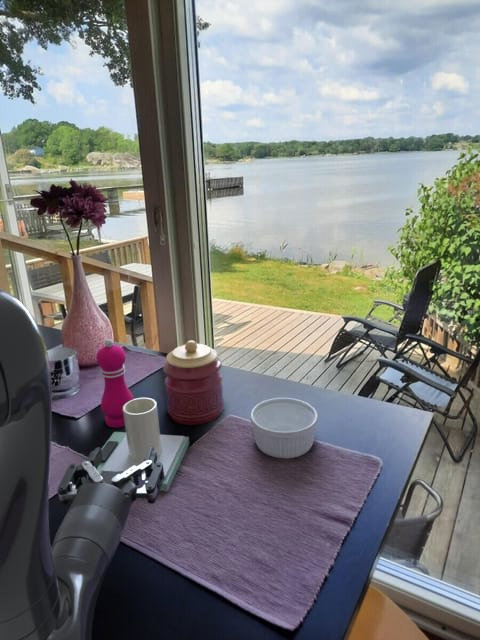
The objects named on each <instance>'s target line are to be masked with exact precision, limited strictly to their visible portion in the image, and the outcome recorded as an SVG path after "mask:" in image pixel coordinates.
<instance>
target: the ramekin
mask: <svg viewBox="0 0 480 640" xmlns="http://www.w3.org/2000/svg"><path fill="white" fill-rule="evenodd" d="M318 421H319V417H318V412H317V410H316V409H315V407H314V406H313V405H311V404H310V403H308V402H306V401H303V400H301V399H298V398H297V399H296V398H291V397H275V398H269V399H266V400H263V401H261V402H259V403H258V404H256V405H255V406H254V407H253V408H252V410H251V412H250V424H251V425H252V431H253V436H254V442H255V444H256V446H257V448H258V449H259V450H260V451H261V452H263V453H264V454H266V455H267V456H270V457H273V458H277V459H294V458H298V457H301V456H302V455H305V454H306V453H307V452H309V451H310V449H312V446H313V445H314V441H315V435H316V428H317V426H318Z"/></svg>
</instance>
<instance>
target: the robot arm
mask: <svg viewBox="0 0 480 640" xmlns="http://www.w3.org/2000/svg"><path fill="white" fill-rule="evenodd" d="M52 384H53V383H52V372H51V363H50V357H49V353H48V349H47V345H46V342H45V339H44V336H43V333H42V331H41V328H40V327H39V325H38V323H37V320H36V319H35V317H34V316H33V315H32V313H31V312H30V310H29V309H28V308H27V307H26V305H25V304H23V302H21V300H19V298H17V297H16V296H15V295H13V294H12V293H9V292H8V291H6V290H4V289H0V640H92V638H93V637H92V636H93V625H94V616H95V610H96V605H97V600H98V597H99V594H100V590H101V587H102V585H103V582H104V579H105V576H106V573H107V570H108V568H109V566H110V564H111V562H112V560H113V558H114V556H115V554H116V552H117V549H118V546H119V544H120V543H121V539H122V534H123V532H124V528H125V525H126V524H127V520H128V517H129V514H130V511H131V507H132V505H133V503H134V502H135V501H136V500H137V499H143V500H144V499H146V500H147V503H148V504H149V505H153V504H155V503H156V502H157V500H158V497H159V495H160V492H161V491H160V489H161V486H162V483H163V480H164V470H163V463H161V462H159V463H156V462H157V452H156V450H154V447H148V450H147V453H146V456H145V458H144V462H143V463H141V464H140V465H138V466H135V465H134V466H132V467H131V468H129V469H128V470H126V471H125V472H124V471H118V472H109V471H103V473H101V474H99V473H98V471H97V468H98V466H99V464H100V462H101V460H102V450H101V449H102V448H101V447H95V448H94V450H91V451H90V452H89V455H88V456H87V458H86V460H85V461H83V462H81V464H79V465H77V464H78V463H71V464H70V465H68V467H67V469H66V471H65V473H64V475H63V476H62V479H61V480H60V482H59V484H58V487H57V489H56V490H57V495H58V499H59V504H60V505H62V506H65V505H67V504H68V503H69V502H70V501H71V500H73V501H71V505H70V506H69V508H68V510H67V512H66V513H65V516H64V518H63V519H62V521H61V522H60V525H59V527H58V529H57V531H56V533H55V536H54V539H53V540H52V541H53V542H52V544H51V536H50V535H51V534H50V521H49V519H50V518H49V506H50V505H49V502H50V501H49V500H50V479H51V460H52V459H51V458H52V419H53V418H52V415H53V413H52V412H53V385H52ZM143 471H145V473H144V474H142V472H143ZM132 476H133V480H134V481H132V479H131V478H130V477H132ZM82 477H84V478H85V480H86V483H84V484H81V485H79V487H78V488H77V486H78V483H79V481H80V479H81V478H82ZM147 480H148V481H147ZM144 482H145V484H144ZM143 484H144V485H143ZM142 486H143V487H142Z"/></svg>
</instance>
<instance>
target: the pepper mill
mask: <svg viewBox="0 0 480 640" xmlns="http://www.w3.org/2000/svg"><path fill="white" fill-rule="evenodd" d="M126 359H127V355H126V351H125V350H124V348H123V347H121V346H120V345H118V344H114V340H113V339H111V338H107V339H105V341H104V346H102V347H100V348H99V349H98V351H97V353H96V363H97V365H98V366H99V367H100V372H101V373H100V374H101V376H102V377H103V379H104V390H103V393H102V397H101V401H100V410H101V413H102V414H104V415H105V416H104V420H105V424H106V426H108V427H110V428H115V429H116V428H123V427H125V422H124V415H123V406H124V405H125V404H126V403H127V402H129V401H131V400H133V399H135V397H134V396H133V393H132V391H130V389H129V387H128V386H127V383H126V381H125V373H126V366H125V364H124V363H126Z"/></svg>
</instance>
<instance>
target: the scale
mask: <svg viewBox="0 0 480 640" xmlns="http://www.w3.org/2000/svg"><path fill="white" fill-rule="evenodd" d="M160 438H161V447H162V452H161V454H160V455H159V456H158V457H157V462H156V463H159V462H161V463H163V470H164V480H163V483H162V486H161V489H160V491H159V492H169V489H170V488H171V485H172V483H173V480H174V479H175V477H176V474H177V472H178V470H179V467H180V465H181V463H182V461H183V458H184V457H185V454H186V452H187V450H188V448H189V446H190V437H189V436H184V435H174V434H173V435H172V434H160ZM101 450H102V460H101V462H100V464H99V466H98V468H97V471H98V473H99V474H101V473H103V471H109V472H118V471H124V472H125V471H126V470H128V469H129V468H131V467H132V466H134V465H135V466H138V465H140V464H141V463H143V462H136V461H133V460H132V459H131V458H130V456H129V450H128V443H127V436H126V431H125V432H123V431H113V432H112V434H111V435H110V437H109V438H108V440H106V442H105V443H104V445H103V446H102V448H101ZM144 473H145V471H143V472H142V474H144ZM130 478H131V479H132V481H134V480H133V476H132V477H130ZM80 480H81V485H83V484H84V483H86V480H85V478H84V477H82V478H80ZM147 481H148V480H147ZM144 484H145V482H144ZM144 484H143V485H144ZM142 487H143V486H142Z"/></svg>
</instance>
